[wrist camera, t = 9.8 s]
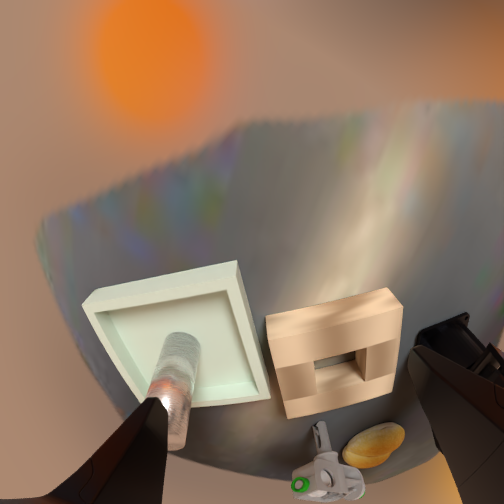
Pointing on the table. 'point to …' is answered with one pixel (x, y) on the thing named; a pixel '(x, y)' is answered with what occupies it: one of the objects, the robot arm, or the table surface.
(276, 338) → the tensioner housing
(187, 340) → the pin
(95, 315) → the parts tray
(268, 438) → the table surface
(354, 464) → the bread roll
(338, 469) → the mechanical component
